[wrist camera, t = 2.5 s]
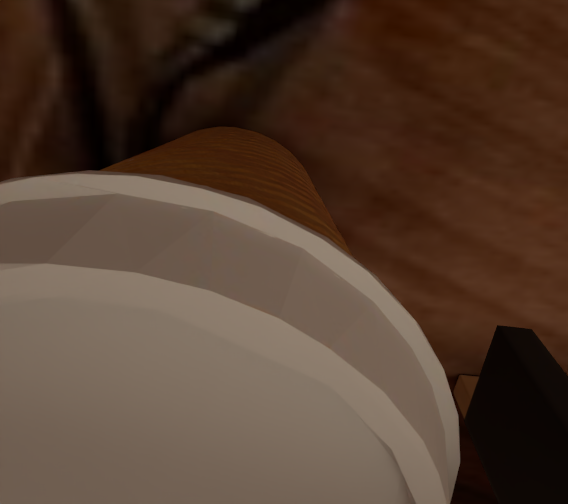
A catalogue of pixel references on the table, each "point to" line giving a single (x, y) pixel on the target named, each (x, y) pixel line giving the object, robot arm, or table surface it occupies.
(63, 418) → the disposable coffee cup
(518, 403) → the robot arm
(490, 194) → the table surface
